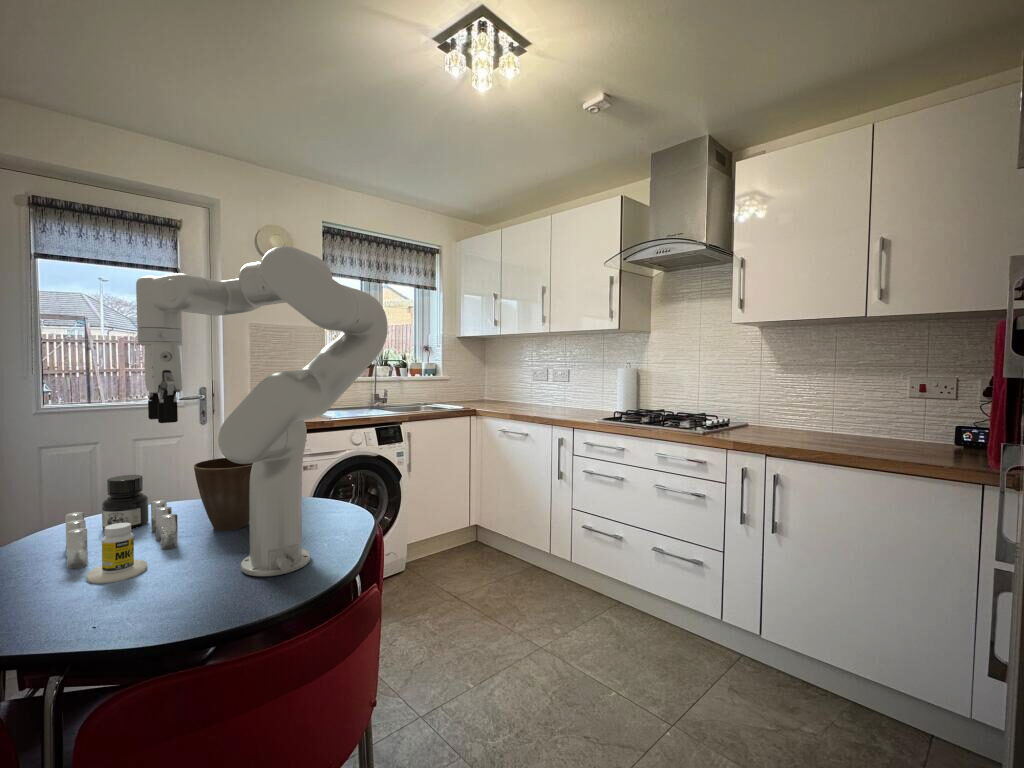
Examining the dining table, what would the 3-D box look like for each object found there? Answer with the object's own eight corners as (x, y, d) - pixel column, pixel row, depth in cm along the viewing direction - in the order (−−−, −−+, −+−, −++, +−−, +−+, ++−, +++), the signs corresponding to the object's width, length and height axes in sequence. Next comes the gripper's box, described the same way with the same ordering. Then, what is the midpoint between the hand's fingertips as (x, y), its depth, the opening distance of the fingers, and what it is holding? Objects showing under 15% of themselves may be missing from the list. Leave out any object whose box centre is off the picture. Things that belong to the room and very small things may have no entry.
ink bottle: (91, 533, 116) (90, 482, 115) (116, 521, 125) (115, 473, 124) (136, 532, 117) (135, 481, 117) (158, 520, 126) (157, 473, 125)
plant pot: (188, 540, 112) (188, 470, 111) (200, 520, 126) (199, 458, 125) (262, 532, 118) (262, 466, 118) (265, 514, 132) (265, 454, 131)
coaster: (150, 574, 94) (150, 570, 94) (88, 588, 88) (88, 583, 88) (143, 559, 101) (143, 556, 101) (85, 572, 95) (85, 567, 95)
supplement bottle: (116, 575, 92) (115, 530, 91) (95, 573, 93) (94, 528, 92) (140, 565, 96) (139, 522, 96) (120, 563, 97) (119, 520, 97)
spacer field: (178, 548, 108) (178, 516, 107) (67, 570, 95) (66, 534, 95) (165, 528, 120) (165, 499, 120) (65, 545, 108) (65, 513, 108)
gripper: (192, 337, 99) (194, 422, 99) (172, 340, 111) (174, 416, 112) (146, 335, 93) (148, 425, 94) (130, 339, 106) (133, 419, 106)
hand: (162, 420), depth 103 cm, fingers open, 9 cm apart
